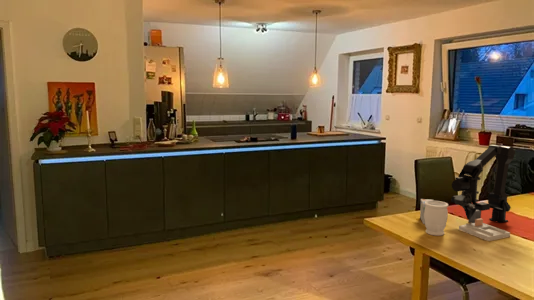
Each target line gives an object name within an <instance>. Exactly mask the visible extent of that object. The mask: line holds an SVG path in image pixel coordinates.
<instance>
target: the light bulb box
mask: <svg viewBox="0 0 534 300" xmlns="http://www.w3.org/2000/svg"><path fill="white" fill-rule="evenodd" d="M426 201H435V200H434V199H428V198H427V199H425V198H420V210H419V211H420V212H419V215H420V216H419V218H420V220H421V222H422V224H423V225H425V220H424V210H425V207H426V205H425V202H426Z"/></svg>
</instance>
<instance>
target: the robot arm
mask: <svg viewBox="0 0 534 300" xmlns="http://www.w3.org/2000/svg"><path fill="white" fill-rule="evenodd" d="M515 155H516V150H515V149H514V147H512V146H508V145H507V146H506V145H497V144H490V145H489V146H488V147H487V148H486V149H485V151H483V152H482V153H481V154H480V155H479V156H478V157H477V158H476V159H474V160H470V161H468V162H467V163H465V164H464V165H463V167H462V169H461V171H460V172H459V174H458V177H455V179H454V180H453V181H452V183H451V188H452V190H453V191H455V192H461V194H459V195H453V196H451V198H450V202H452V203H453V204H454V203H455V205H458V206H459V207H462V209H463V210H464V213H465V216H466V220H469V219H471V217H472V215H473V214H474V212H475V211H476V210H480V211H481V212H482V211H488V210H489V211H490V209H492V212H491V217H490V218H489V219H488V220H490V221H493V222H496V223H499V224H500V223H501V224H502V223H506V222H509V220H508V219H507V218H506V216H507V215H506V214H507V213H508V212H510V211H511V208H512V207H511V205H510V204H509V202H508V196H507V194H506V191H505V190H506V183H507V179H508V178H507V177H508V173H509V172H508V171H509V167H510V166H509V165H510V164H511V162H512V161H514V157H515ZM493 158H495V159H496V162H497V164H496V165H497V166H496V171H495V173H496V174H495V180H494V186H493V190H492V191H491V192H489V193H488V195H487V196H488V197H487V203H486V202H484V201H481V202H479V199H477V198H478V197H477V196H478V195H479V193H480V192H479V191H478V181H480V180H481V178H480V177H479V176H480V175H481V174H482V172H483V170H484V167H485V166H486V165H487V164H488V163H489V162H490V161H491V160H492V159H493Z"/></svg>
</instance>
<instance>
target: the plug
mask: <svg viewBox="0 0 534 300" xmlns="http://www.w3.org/2000/svg"><path fill="white" fill-rule="evenodd" d="M481 217H482V211H480V210H476V211H475V212H474V214H473V215H472V217H471V219H467V220H468V223H469V224H471V223H475V219H480V218H481Z"/></svg>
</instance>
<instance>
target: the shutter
mask: <svg viewBox="0 0 534 300" xmlns="http://www.w3.org/2000/svg"><path fill="white" fill-rule="evenodd" d="M483 223H484V219H483V218H480V219H475V223H469V224H470V225H472V226H475V227H478V228H481V229H485V228H489V226H487V225H484V224H483Z"/></svg>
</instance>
